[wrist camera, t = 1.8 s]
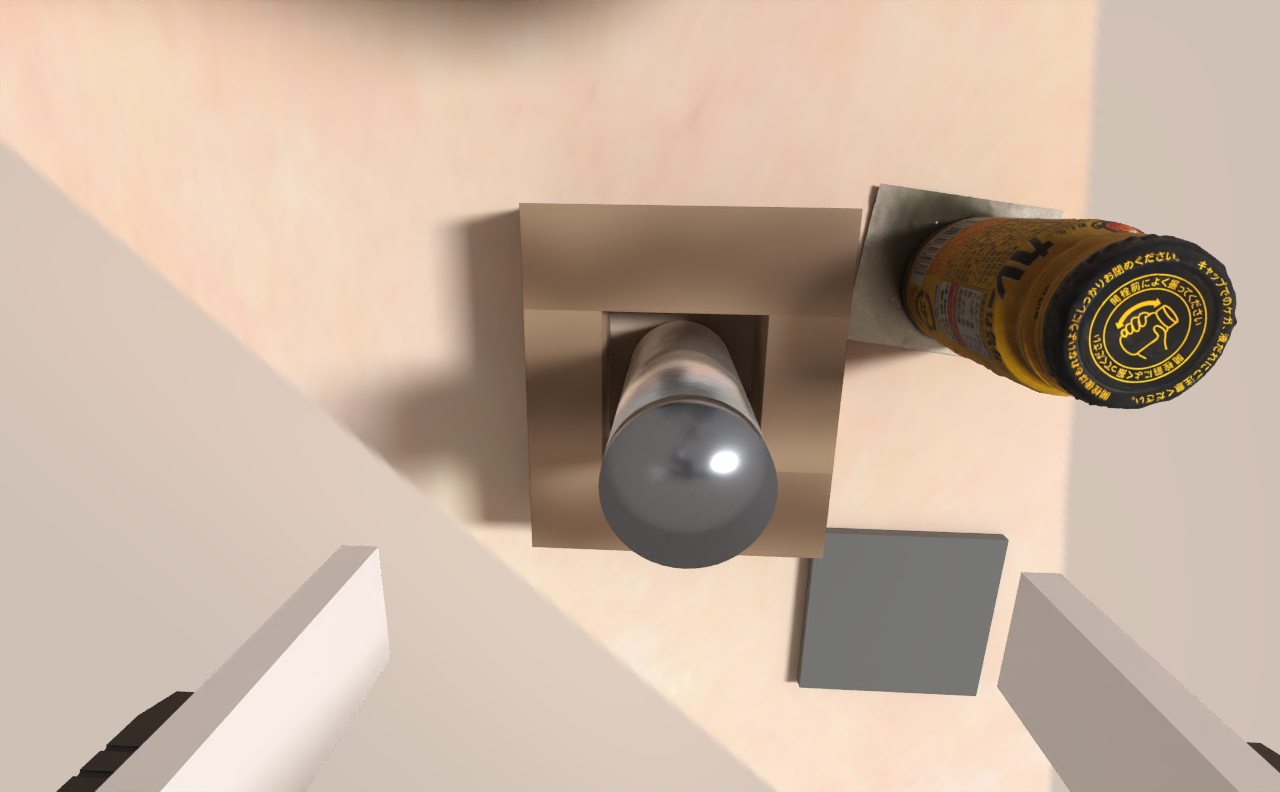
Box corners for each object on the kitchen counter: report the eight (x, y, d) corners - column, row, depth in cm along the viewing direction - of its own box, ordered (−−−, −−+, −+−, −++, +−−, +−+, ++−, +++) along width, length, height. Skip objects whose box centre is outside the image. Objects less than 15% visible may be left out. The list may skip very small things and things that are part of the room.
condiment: (1010, 363, 30) (1216, 454, 19) (840, 338, 31) (942, 413, 19) (1060, 210, 28) (1325, 209, 17) (877, 183, 28) (1017, 163, 17)
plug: (630, 319, 31) (598, 402, 17) (735, 321, 30) (784, 407, 17) (629, 418, 32) (598, 565, 19) (729, 421, 32) (770, 572, 19)
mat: (813, 527, 33) (816, 533, 33) (1002, 534, 33) (1008, 540, 32) (797, 679, 36) (799, 687, 36) (971, 688, 36) (975, 695, 35)
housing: (539, 204, 29) (519, 203, 26) (837, 209, 29) (862, 208, 25) (548, 509, 34) (532, 546, 30) (805, 518, 33) (822, 558, 29)
